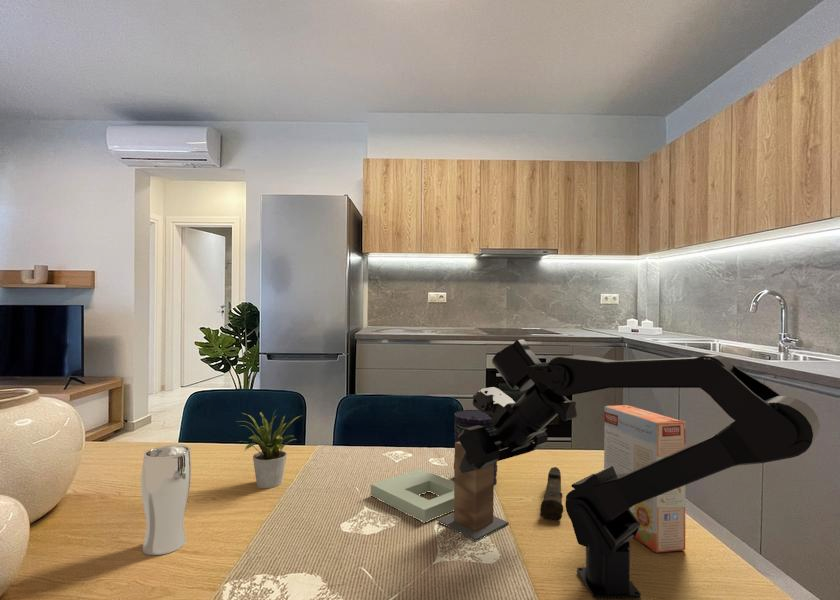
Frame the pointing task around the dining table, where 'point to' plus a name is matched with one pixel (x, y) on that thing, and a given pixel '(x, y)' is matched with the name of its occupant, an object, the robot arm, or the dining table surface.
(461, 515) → the wooden block
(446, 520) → the rubber mat
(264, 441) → the house plant
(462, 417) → the storage jar
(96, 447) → the dining table surface
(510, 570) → the dining table surface
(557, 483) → the hand tool
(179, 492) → the beer glass
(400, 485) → the square socket block
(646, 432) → the cracker box
